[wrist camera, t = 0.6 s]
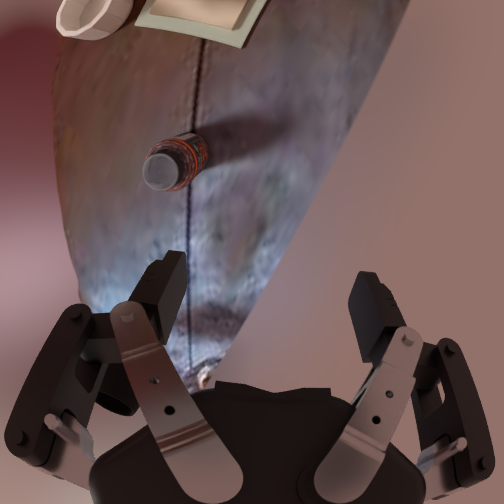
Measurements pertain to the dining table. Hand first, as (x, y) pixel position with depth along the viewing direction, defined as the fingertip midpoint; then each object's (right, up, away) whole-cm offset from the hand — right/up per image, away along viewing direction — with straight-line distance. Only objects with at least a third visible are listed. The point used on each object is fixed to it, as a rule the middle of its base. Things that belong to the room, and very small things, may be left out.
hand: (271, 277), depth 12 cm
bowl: (-23, +36, +10) cm, 44 cm away
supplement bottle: (-9, +15, +22) cm, 28 cm away
